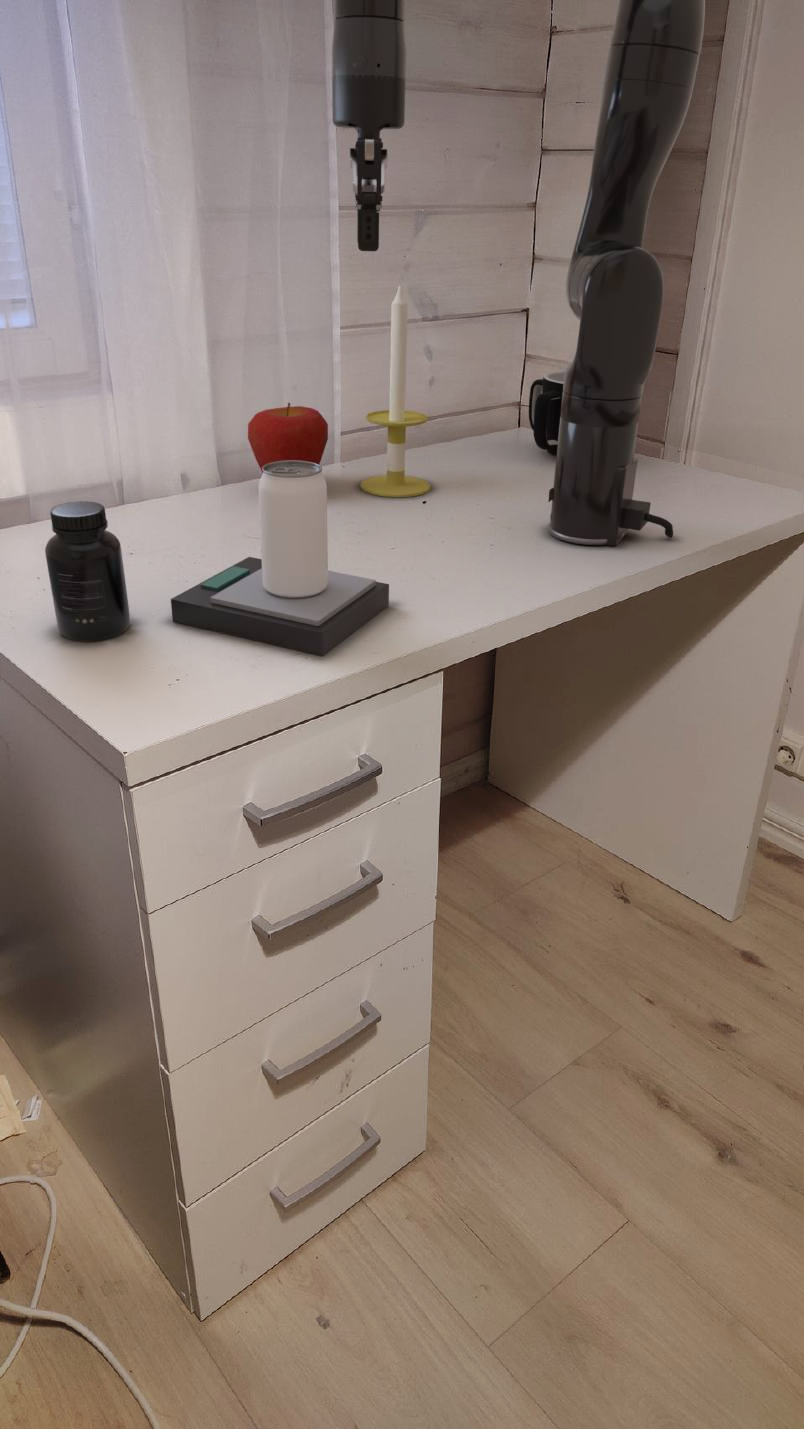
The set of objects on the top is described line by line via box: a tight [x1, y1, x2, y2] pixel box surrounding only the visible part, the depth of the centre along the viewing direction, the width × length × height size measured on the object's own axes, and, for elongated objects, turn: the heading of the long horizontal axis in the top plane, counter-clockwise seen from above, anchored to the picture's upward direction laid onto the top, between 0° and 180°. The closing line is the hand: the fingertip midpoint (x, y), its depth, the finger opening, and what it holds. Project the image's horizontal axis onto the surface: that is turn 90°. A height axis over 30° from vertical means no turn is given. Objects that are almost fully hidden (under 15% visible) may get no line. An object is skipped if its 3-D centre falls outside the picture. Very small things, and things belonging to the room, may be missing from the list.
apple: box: [247, 401, 329, 474], centre depth 138 cm, size 11×11×12 cm
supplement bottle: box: [44, 500, 131, 642], centre depth 95 cm, size 7×7×12 cm
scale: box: [170, 556, 390, 657], centre depth 101 cm, size 17×14×3 cm
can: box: [258, 460, 329, 599], centre depth 97 cm, size 6×6×12 cm
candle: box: [359, 281, 431, 498], centre depth 137 cm, size 10×10×27 cm
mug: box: [528, 370, 566, 457], centre depth 160 cm, size 16×16×12 cm
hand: (367, 248), depth 111 cm, fingers open, 8 cm apart
